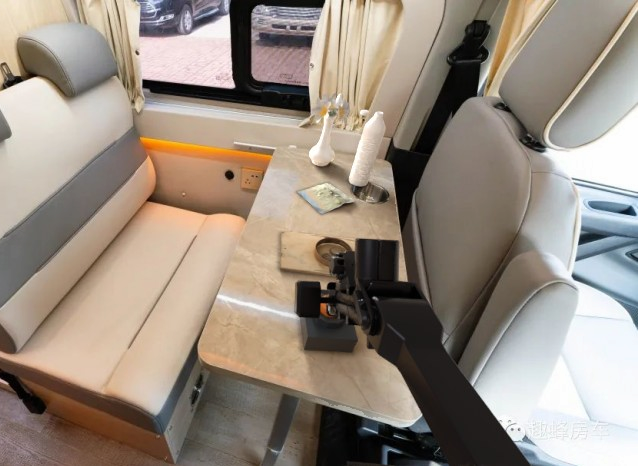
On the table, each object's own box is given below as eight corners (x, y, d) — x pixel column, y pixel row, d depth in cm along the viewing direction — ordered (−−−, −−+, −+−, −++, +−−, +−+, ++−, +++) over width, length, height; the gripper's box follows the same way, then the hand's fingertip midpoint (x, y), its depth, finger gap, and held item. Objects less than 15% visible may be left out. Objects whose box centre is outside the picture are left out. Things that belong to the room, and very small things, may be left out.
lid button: (342, 318, 67) (344, 312, 66) (320, 317, 67) (322, 311, 66) (338, 300, 70) (340, 294, 69) (317, 299, 71) (319, 293, 69)
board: (368, 240, 94) (372, 232, 92) (379, 281, 83) (383, 273, 80) (280, 232, 97) (282, 224, 94) (279, 271, 85) (281, 262, 83)
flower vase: (338, 153, 132) (355, 89, 115) (334, 176, 119) (351, 107, 103) (306, 148, 136) (317, 85, 119) (298, 170, 123) (309, 102, 106)
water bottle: (366, 178, 118) (389, 109, 102) (368, 187, 114) (392, 117, 97) (341, 175, 120) (360, 106, 103) (342, 184, 115) (361, 114, 99)
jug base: (351, 352, 69) (361, 334, 64) (303, 349, 69) (309, 331, 64) (340, 305, 77) (347, 286, 73) (297, 302, 78) (302, 284, 73)
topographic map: (328, 182, 116) (329, 178, 115) (354, 202, 107) (356, 198, 106) (296, 193, 113) (296, 189, 112) (321, 214, 103) (321, 210, 102)
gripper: (431, 256, 49) (385, 255, 64) (305, 251, 50) (289, 251, 65) (431, 332, 48) (384, 313, 64) (303, 325, 49) (287, 308, 65)
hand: (336, 294), depth 64 cm, fingers closed
